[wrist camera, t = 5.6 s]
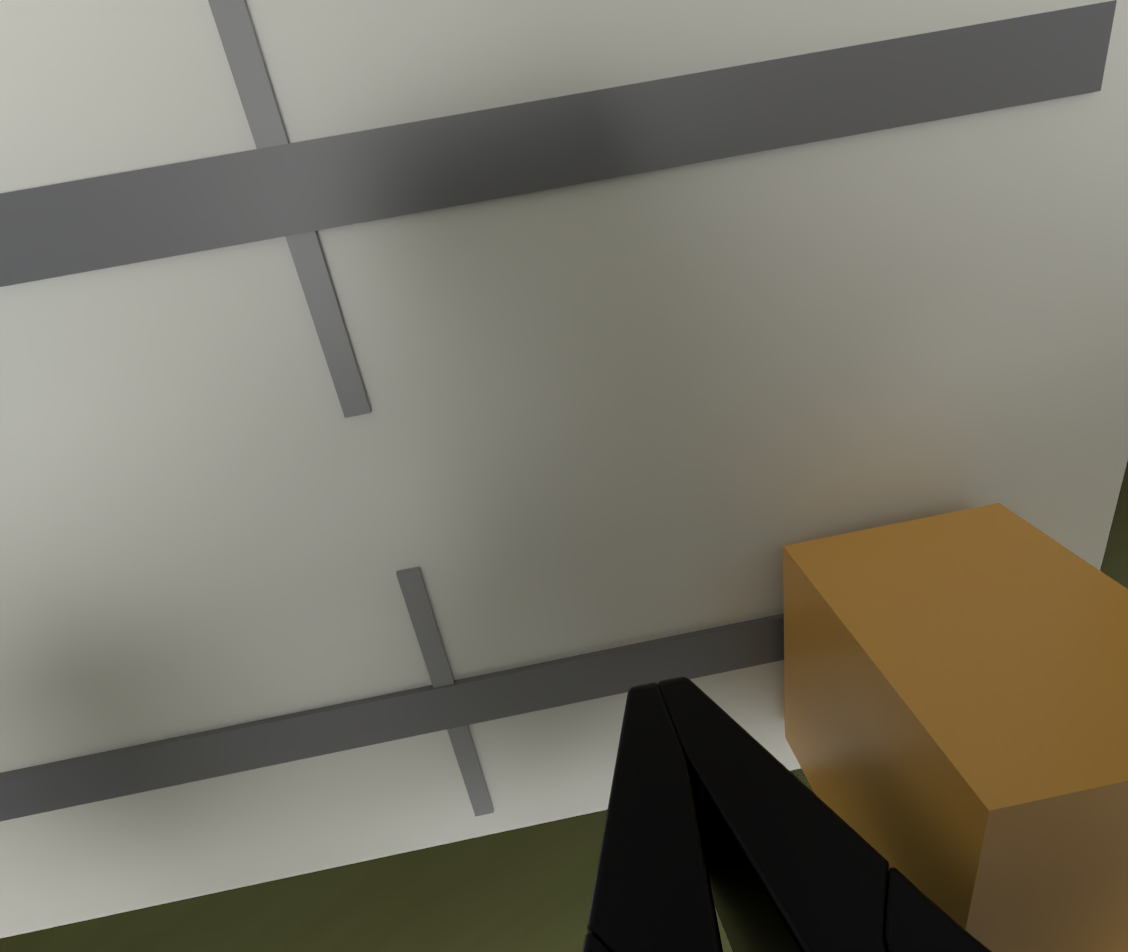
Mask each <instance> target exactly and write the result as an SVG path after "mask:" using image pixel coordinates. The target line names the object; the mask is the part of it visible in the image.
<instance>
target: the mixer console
mask: <svg viewBox="0 0 1128 952" xmlns="http://www.w3.org/2000/svg"><path fill="white" fill-rule="evenodd" d="M1127 461H1128V0H0V938H5V937H9V936H14V935H19V934H23V933H28V932H33V931H38V930H42V929H47V928H52V927H56V926H61V925H66V924H70V923H75V922H80V921H85V920H89V919H94V918H99V917H103V916H108V915H113V914H118V913H122V912H127V911H132V910H136V909H141V908H146V907H151V906H155V905H160V904H165V903H169V902H174V901H179V900H183V899H188V898H193V897H198V896H202V895H207V894H212V893H216V892H221V891H226V890H231V889H235V888H240V887H245V886H249V885H254V884H259V883H264V882H268V881H273V880H278V879H282V878H287V877H292V876H296V875H301V874H306V873H311V872H315V871H320V870H325V869H329V868H334V867H339V866H344V865H348V864H353V863H358V862H362V861H367V860H372V859H377V858H381V857H386V856H391V855H395V854H400V853H405V852H409V851H414V850H419V849H424V848H428V847H433V846H438V845H442V844H447V843H452V842H457V841H461V840H466V839H471V838H475V837H480V836H485V835H489V834H494V833H499V832H504V831H508V830H513V829H518V828H522V827H527V826H532V825H537V824H541V823H546V822H551V821H555V820H560V819H565V818H570V817H574V816H579V815H584V814H588V813H593V812H598V811H602V810H607V809H608V804H609V798H610V792H611V786H612V780H613V775H614V769H615V763H616V757H617V751H618V746H619V740H620V734H621V728H622V722H623V717H624V711H625V705H626V699H627V694H628V691H629V689H630V688H631V687H634V686H638V685H643V684H648V683H653V682H655V683H657V684H658V683H659V682H660V681H663V680H668V679H672V678H677V677H687V678H689V679H690V680H691V681H692V682H693V683H694V684H695V685H697V686H698V687H699V688H700V689H701V690H702V691H703V692H704V693H705V694H706V695H707V696H709V697H710V698H711V699H712V700H713V701H714V702H715V703H716V704H717V705H718V706H719V707H721V708H722V709H723V710H724V711H725V712H726V713H727V714H728V715H729V716H730V717H731V718H733V719H734V720H735V721H736V722H737V723H738V724H739V725H740V726H741V727H742V728H743V729H745V730H746V731H747V732H748V733H749V734H750V735H751V736H752V737H753V738H754V739H755V740H757V741H758V742H759V743H760V744H761V745H762V746H763V747H764V748H765V749H766V750H767V751H769V752H770V753H771V754H772V755H773V756H774V757H775V758H776V759H777V760H778V761H779V762H781V763H782V764H783V765H784V766H785V767H786V768H787V769H788V770H789V771H791V770H795V769H800V768H801V767H800V765H799V763H798V761H797V759H796V757H795V755H794V753H793V751H792V749H791V748H790V746H789V744H788V742H787V740H786V738H785V693H784V589H783V546H786V545H791V544H796V543H801V542H806V541H811V540H816V539H821V538H826V537H831V536H836V535H841V534H846V533H851V532H856V531H861V530H866V529H871V528H876V527H881V526H886V525H891V524H896V523H901V522H906V521H911V520H916V519H921V518H926V517H931V516H936V515H941V514H946V513H951V512H956V511H961V510H966V509H971V508H976V507H981V506H986V505H991V504H996V503H1000V504H1001V505H1003V506H1004V507H1006V508H1007V509H1009V510H1010V511H1012V512H1013V513H1015V514H1016V515H1018V516H1019V517H1021V518H1022V519H1024V520H1025V521H1027V522H1028V523H1030V524H1031V525H1033V526H1034V527H1036V528H1037V529H1039V530H1040V531H1042V532H1043V533H1045V534H1046V535H1048V536H1049V537H1051V538H1052V539H1054V540H1055V541H1057V542H1058V543H1060V544H1061V545H1063V546H1064V547H1066V548H1067V549H1069V550H1070V551H1072V552H1073V553H1075V554H1076V555H1078V556H1079V557H1080V558H1082V559H1083V560H1085V561H1086V562H1088V563H1089V564H1091V565H1092V566H1094V567H1095V568H1097V569H1098V570H1100V569H1101V565H1102V561H1103V557H1104V553H1105V549H1106V545H1107V541H1108V537H1109V533H1110V529H1111V525H1112V521H1113V517H1114V513H1115V509H1116V505H1117V501H1118V497H1119V493H1120V489H1121V485H1122V481H1123V477H1124V473H1125V469H1126V465H1127Z"/></svg>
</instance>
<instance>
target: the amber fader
mask: <svg viewBox="0 0 1128 952" xmlns="http://www.w3.org/2000/svg"><path fill="white" fill-rule="evenodd" d="M783 589H784V693H785V738H786V740H787V742H788V744H789V746H790V748H791V749H792V751H793V753H794V755H795V757H796V759H797V761H798V763H799V765H800V767H801V768H802V770H803V772H804V774H805V776H806V778H807V780H808V782H809V784H810V786H811V787H812V789H813V791H814V793H815V795H817V796H818V797H819V798H820V799H821V800H822V801H823V802H824V803H825V804H826V805H827V806H829V807H830V808H831V809H832V810H833V811H834V812H835V813H836V814H837V815H838V816H839V817H841V818H842V819H843V820H844V821H845V822H846V823H847V824H848V825H849V826H850V827H851V828H853V829H854V830H855V831H856V832H857V833H858V834H859V835H860V836H861V837H862V838H863V839H865V840H866V841H867V842H868V843H869V844H870V845H871V846H872V847H873V848H874V849H875V850H877V851H878V852H879V853H880V854H881V855H882V856H883V857H884V858H885V859H886V860H887V861H888V862H889V869H890V868H891V867H895V868H897V869H898V870H899V871H900V872H901V873H902V874H903V875H904V876H905V877H906V878H907V879H908V880H910V881H911V882H912V883H913V884H914V885H915V886H916V887H917V888H918V889H919V890H920V891H921V892H923V893H924V894H925V895H926V896H927V897H928V898H929V899H930V900H932V901H933V902H934V903H935V904H936V905H937V906H938V907H940V908H941V909H942V910H943V911H944V912H945V913H946V914H948V915H949V916H950V917H951V918H952V919H953V920H954V921H956V922H957V923H958V924H959V925H960V926H961V927H962V928H964V929H965V930H966V931H967V932H968V933H969V934H971V935H972V936H973V937H974V938H975V939H977V940H978V941H979V942H980V943H982V944H983V945H984V946H986V947H987V948H988V949H989V950H991V951H992V952H1128V589H1127V588H1125V587H1124V586H1122V585H1121V584H1119V583H1118V582H1116V581H1115V580H1113V579H1112V578H1110V577H1109V576H1107V575H1106V574H1104V573H1103V572H1101V571H1100V570H1098V569H1097V568H1095V567H1094V566H1092V565H1091V564H1089V563H1088V562H1086V561H1085V560H1083V559H1082V558H1080V557H1079V556H1078V555H1076V554H1075V553H1073V552H1072V551H1070V550H1069V549H1067V548H1066V547H1064V546H1063V545H1061V544H1060V543H1058V542H1057V541H1055V540H1054V539H1052V538H1051V537H1049V536H1048V535H1046V534H1045V533H1043V532H1042V531H1040V530H1039V529H1037V528H1036V527H1034V526H1033V525H1031V524H1030V523H1028V522H1027V521H1025V520H1024V519H1022V518H1021V517H1019V516H1018V515H1016V514H1015V513H1013V512H1012V511H1010V510H1009V509H1007V508H1006V507H1004V506H1003V505H1001V504H1000V503H996V504H991V505H986V506H981V507H976V508H971V509H966V510H961V511H956V512H951V513H946V514H941V515H936V516H931V517H926V518H921V519H916V520H911V521H906V522H901V523H896V524H891V525H886V526H881V527H876V528H871V529H866V530H861V531H856V532H851V533H846V534H841V535H836V536H831V537H826V538H821V539H816V540H811V541H806V542H801V543H796V544H791V545H786V546H783Z"/></svg>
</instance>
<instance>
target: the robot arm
mask: <svg viewBox="0 0 1128 952" xmlns="http://www.w3.org/2000/svg"><path fill="white" fill-rule="evenodd" d="M715 907H716V910H717V912H718V915H719V917H720V920H721V922H722V925H723V927H724V930H725V933H726V935H727V938H728V940H729V943H730V945H731V948H732V950H733V952H992V951H991V950H989V949H988V948H987V947H986V946H984V945H983V944H982V943H980V942H979V941H978V940H977V939H975V938H974V937H973V936H972V935H971V934H969V933H968V932H967V931H966V930H965V929H964V928H962V927H961V926H960V925H959V924H958V923H957V922H956V921H954V920H953V919H952V918H951V917H950V916H949V915H948V914H946V913H945V912H944V911H943V910H942V909H941V908H940V907H938V906H937V905H936V904H935V903H934V902H933V901H932V900H930V899H929V898H928V897H927V896H926V895H925V894H924V893H923V892H921V891H920V890H919V889H918V888H917V887H916V886H915V885H914V884H913V883H912V882H911V881H910V880H908V879H907V878H906V877H905V876H904V875H903V874H902V873H901V872H900V871H899V870H898V869H897V868H895V867H891V868H890V869H889V862H888V861H887V860H886V859H885V858H884V857H883V856H882V855H881V854H880V853H879V852H878V851H877V850H875V849H874V848H873V847H872V846H871V845H870V844H869V843H868V842H867V841H866V840H865V839H863V838H862V837H861V836H860V835H859V834H858V833H857V832H856V831H855V830H854V829H853V828H851V827H850V826H849V825H848V824H847V823H846V822H845V821H844V820H843V819H842V818H841V817H839V816H838V815H837V814H836V813H835V812H834V811H833V810H832V809H831V808H830V807H829V806H827V805H826V804H825V803H824V802H823V801H822V800H821V799H820V798H819V797H818V796H817V795H815V794H814V793H813V792H812V791H811V790H810V789H809V788H808V787H807V786H806V785H805V784H803V783H802V782H801V781H800V780H799V779H798V778H797V777H796V776H795V775H794V774H793V773H791V772H790V771H789V770H788V769H787V768H786V767H785V766H784V765H783V764H782V763H781V762H779V761H778V760H777V759H776V758H775V757H774V756H773V755H772V754H771V753H770V752H769V751H767V750H766V749H765V748H764V747H763V746H762V745H761V744H760V743H759V742H758V741H757V740H755V739H754V738H753V737H752V736H751V735H750V734H749V733H748V732H747V731H746V730H745V729H743V728H742V727H741V726H740V725H739V724H738V723H737V722H736V721H735V720H734V719H733V718H731V717H730V716H729V715H728V714H727V713H726V712H725V711H724V710H723V709H722V708H721V707H719V706H718V705H717V704H716V703H715V702H714V701H713V700H712V699H711V698H710V697H709V696H707V695H706V694H705V693H704V692H703V691H702V690H701V689H700V688H699V687H698V686H697V685H695V684H694V683H693V682H692V681H691V680H690V679H689V678H687V677H677V678H672V679H668V680H663V681H660V682H659V683H658V684H657V683H655V682H653V683H648V684H643V685H638V686H634V687H631V688H630V689H629V691H628V694H627V699H626V705H625V711H624V717H623V722H622V728H621V734H620V740H619V746H618V751H617V757H616V763H615V769H614V775H613V780H612V786H611V792H610V798H609V804H608V809H607V815H606V821H605V827H604V832H603V838H602V844H601V850H600V856H599V861H598V867H597V873H596V879H595V885H594V890H593V896H592V902H591V908H590V914H589V919H588V925H587V930H588V933H587V934H586V935H585V940H584V946H583V952H723V949H722V944H721V938H720V933H719V927H718V922H717V916H716V911H715Z"/></svg>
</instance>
